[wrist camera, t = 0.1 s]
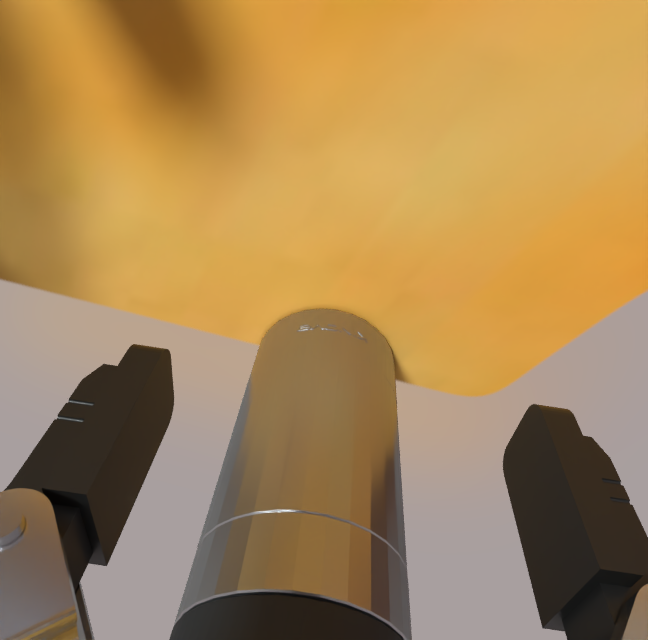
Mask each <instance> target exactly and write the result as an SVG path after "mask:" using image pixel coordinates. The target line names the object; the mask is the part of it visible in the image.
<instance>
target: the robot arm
mask: <svg viewBox="0 0 648 640" xmlns="http://www.w3.org/2000/svg"><path fill="white" fill-rule="evenodd" d="M173 406H174V390H173V379H172V365H171V354H170V351H169V350H168V349H163V348H156V347H149V346H143V345H136V344H133V345H132V346H131V347H130V348H129V349H128V350H127V352H126V353H125V355H124V357H123V358H122V360H121V361H120V363H119V365H118V366H113V365H107V364H103V365H102V366H101V367H99V368H98V369H96V370H95V371H93V372H92V373H91V374H89V375H88V376H87V377H85V378H84V379H83V380H82V381H81V382H80V384H79V385H78V386H77V388H76V389H75V391H74V393H73V394H72V395H71V397H70V398H69V402H68V403H66V404H65V405H64V407H63V408H62V410H61V411H60V412H59V414H58V417H57V420H54V421H53V423H52V424H51V425H50V427H49V428H48V430H47V431H46V433H45V434H44V436H43V437H42V439H41V440H40V441H39V443H38V444H37V446H36V447H35V449H34V450H33V451H32V453H31V455H30V456H29V457H28V459H27V460H26V462H25V463H24V465H23V466H22V467H21V469H20V470H19V472H18V473H17V475H16V476H15V478H14V479H13V480H12V482H11V483H10V484H9V486H8V487H7V488H6V489H5V490H4V491H2V492H0V640H94V636H93V632H92V627H91V623H90V619H89V615H88V611H87V606H86V602H85V598H84V594H83V590H82V586H81V583H80V580H81V578H82V576H83V573H84V571H85V569H86V567H87V565H88V563H90V564H98V565H103V566H107V564H108V562H109V560H110V557H111V555H112V553H113V550H114V548H115V546H116V544H117V541H118V539H119V537H120V535H121V532H122V530H123V527H124V525H125V523H126V521H127V519H128V516H129V514H130V512H131V510H132V507H133V505H134V503H135V500H136V498H137V496H138V493H139V491H140V489H141V487H142V484H143V482H144V480H145V478H146V476H147V473H148V471H149V469H150V466H151V464H152V462H153V459H154V457H155V455H156V453H157V450H158V448H159V446H160V443H161V441H162V439H163V437H164V435H165V432H166V430H167V428H168V425H169V423H170V419H171V416H172V412H173ZM503 470H504V477H505V481H506V485H507V488H508V493H509V497H510V501H511V504H512V508H513V512H514V516H515V520H516V524H517V528H518V532H519V536H520V540H521V544H522V548H523V552H524V556H525V560H526V564H527V568H528V572H529V576H530V579H531V584H532V588H533V592H534V595H535V600H536V604H537V608H538V612H539V616H540V620H541V623H542V627H543V628H545V629H552V630H559V631H565V633H566V636H567V640H648V537H647V535H646V533H645V531H644V529H643V526H642V525H641V522H640V520H639V518H638V516H637V514H636V512H635V510H634V507H633V505H630V503H629V501H630V499H629V497H628V495H627V493H626V491H625V488H624V486H622V485H621V484H620V482H621V480H620V478H619V476H618V474H617V471H616V469H615V467H614V465H613V463H612V461H611V459H610V457H608V455H607V454H606V453H605V452H604V451H603V450H602V448H600V446H599V445H598V444H597V443H596V442H595V441H594V439H593V438H592V437H588V436H583V435H582V432H581V430H580V428H579V426H578V423H577V421H576V419H575V417H574V415H573V413H572V412H571V411H570V410H568V409H562V408H556V407H549V406H543V405H536V404H533V405H531V406H530V407H529V408H528V410H527V411H526V413H525V414H524V416H523V418H522V420H521V422H520V423H519V425H518V427H517V429H516V431H515V432H514V434H513V436H512V438H511V439H510V441H509V443H508V445H507V447H506V449H505V453H504V459H503ZM170 640H412V636H411V620H410V605H409V588H408V578H407V562H406V546H405V531H404V515H403V499H402V483H401V467H400V451H399V436H398V420H397V400H396V384H395V368H394V359H393V355H392V351H391V348H390V346H389V344H388V343H387V341H386V339H385V338H384V336H383V335H382V334H381V333H380V332H379V331H378V330H377V329H376V328H375V327H374V326H372V325H371V324H369V323H368V322H367V321H365V320H363V319H361V318H359V317H357V316H355V315H353V314H350V313H346V312H342V311H338V310H331V309H312V310H304V311H301V312H298V313H294V314H291V315H289V316H287V317H285V318H283V319H282V320H280V321H278V322H277V323H276V324H275V325H274V326H272V327H271V328H270V329H269V330H268V332H267V333H266V334H265V336H264V337H263V339H262V341H261V344H260V346H259V349H258V353H257V356H256V359H255V362H254V365H253V368H252V372H251V375H250V378H249V381H248V384H247V387H246V390H245V394H244V397H243V400H242V404H241V407H240V410H239V413H238V416H237V420H236V423H235V426H234V429H233V433H232V436H231V440H230V443H229V446H228V449H227V452H226V456H225V459H224V462H223V466H222V469H221V472H220V475H219V479H218V482H217V485H216V488H215V491H214V495H213V498H212V502H211V504H210V508H209V511H208V514H207V518H206V521H205V524H204V527H203V531H202V535H201V537H200V541H199V544H198V548H197V551H196V555H195V558H194V561H193V565H192V568H191V571H190V575H189V578H188V581H187V584H186V587H185V591H184V594H183V597H182V601H181V604H180V607H179V610H178V614H177V617H176V620H175V625H174V627H173V630H172V633H171V637H170Z"/></svg>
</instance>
